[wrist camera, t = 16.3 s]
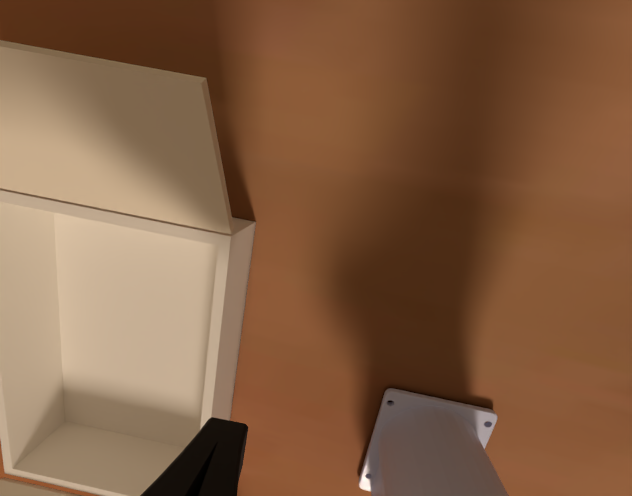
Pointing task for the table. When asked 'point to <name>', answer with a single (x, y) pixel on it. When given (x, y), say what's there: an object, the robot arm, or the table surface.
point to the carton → (113, 340)
